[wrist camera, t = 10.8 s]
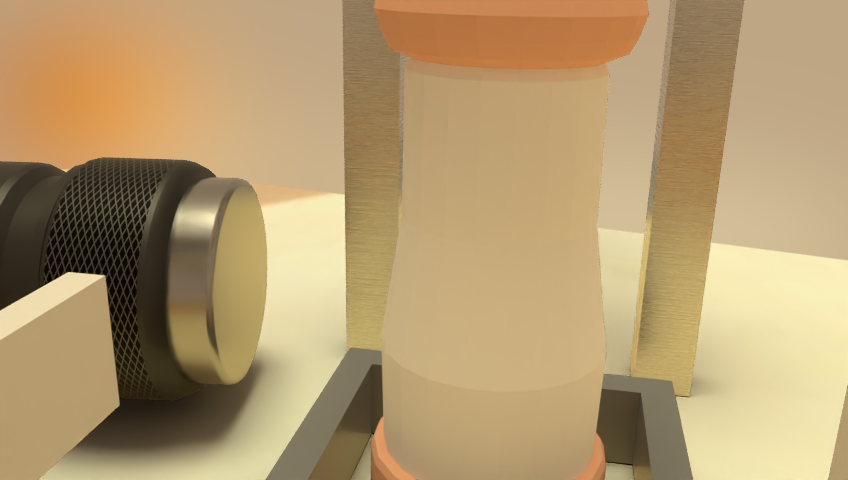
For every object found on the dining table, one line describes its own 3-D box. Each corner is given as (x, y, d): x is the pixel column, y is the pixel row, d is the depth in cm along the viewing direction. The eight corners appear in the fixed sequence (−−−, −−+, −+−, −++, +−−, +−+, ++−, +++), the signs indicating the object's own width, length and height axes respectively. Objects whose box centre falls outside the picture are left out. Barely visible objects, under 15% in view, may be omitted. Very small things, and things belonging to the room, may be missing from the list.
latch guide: (689, 396, 35) (800, -407, 26) (346, 360, 38) (337, -379, 28) (683, 371, 37) (783, -376, 28) (360, 338, 40) (355, -353, 31)
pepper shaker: (574, 468, 30) (624, -92, 24) (621, 618, 23) (708, -120, 17) (376, 466, 30) (376, -98, 24) (363, 616, 23) (359, -127, 17)
